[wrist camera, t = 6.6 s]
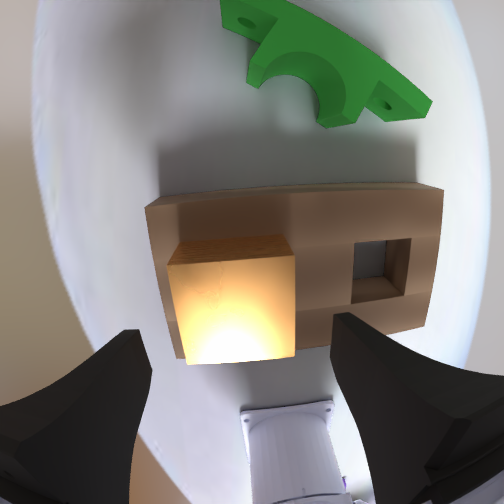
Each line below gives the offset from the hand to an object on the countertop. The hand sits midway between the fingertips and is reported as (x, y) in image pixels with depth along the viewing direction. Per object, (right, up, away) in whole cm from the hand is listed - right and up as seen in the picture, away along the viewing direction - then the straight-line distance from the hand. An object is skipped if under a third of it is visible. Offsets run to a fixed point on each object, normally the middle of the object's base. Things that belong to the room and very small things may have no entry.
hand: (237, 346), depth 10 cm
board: (+4, +3, +8) cm, 9 cm away
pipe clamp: (+3, +13, +4) cm, 14 cm away
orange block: (0, +3, +7) cm, 8 cm away
